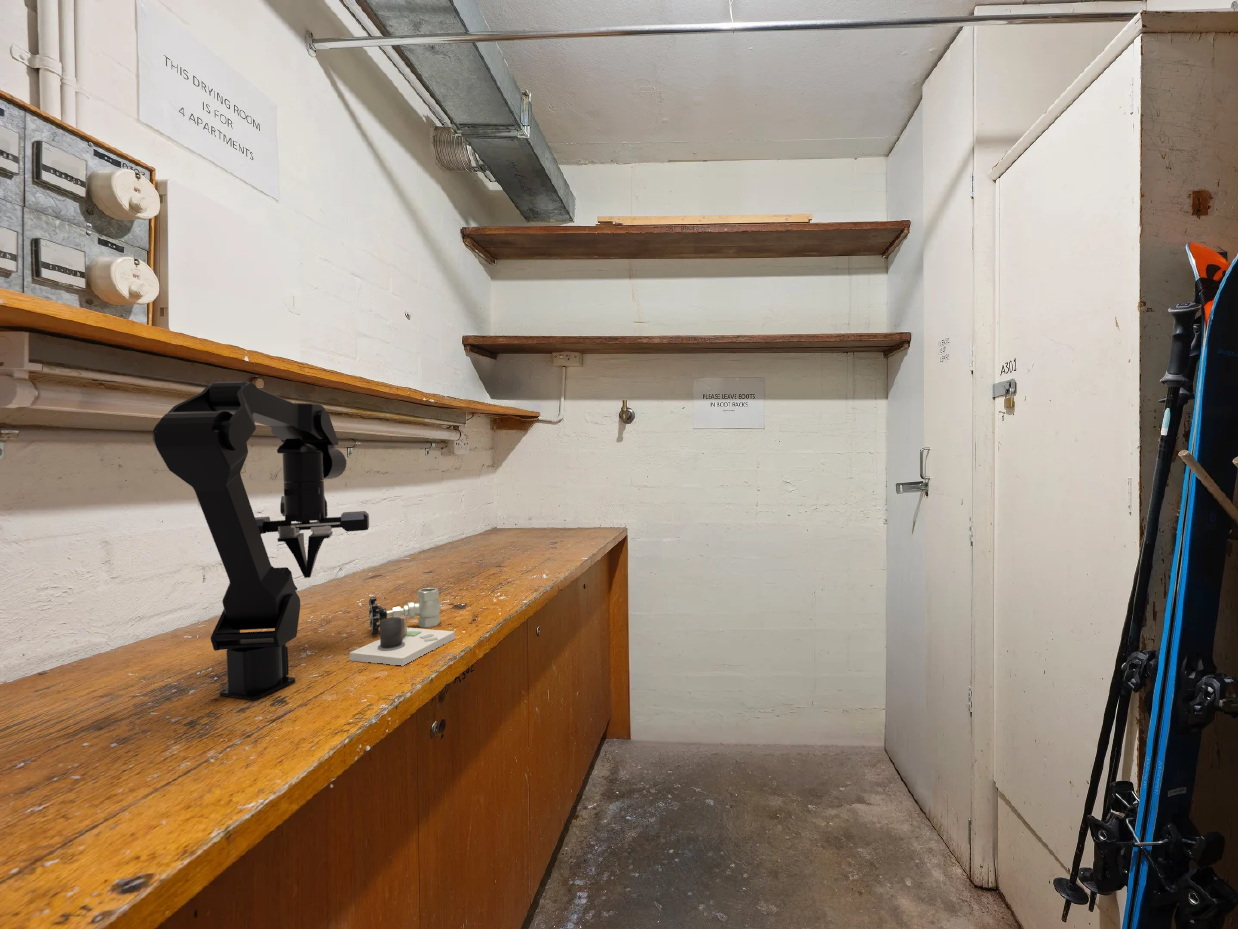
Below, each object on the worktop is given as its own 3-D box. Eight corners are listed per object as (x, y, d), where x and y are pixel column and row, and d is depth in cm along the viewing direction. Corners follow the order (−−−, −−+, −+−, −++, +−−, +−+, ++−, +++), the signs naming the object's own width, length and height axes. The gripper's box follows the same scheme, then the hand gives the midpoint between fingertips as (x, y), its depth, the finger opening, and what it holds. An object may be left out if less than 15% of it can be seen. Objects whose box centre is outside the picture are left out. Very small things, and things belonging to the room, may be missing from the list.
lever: (399, 646, 88) (398, 622, 88) (377, 648, 88) (376, 623, 88) (410, 632, 95) (409, 609, 95) (391, 633, 95) (390, 610, 95)
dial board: (403, 666, 84) (402, 657, 84) (349, 660, 87) (349, 651, 87) (455, 638, 96) (454, 630, 96) (406, 634, 100) (406, 626, 99)
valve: (437, 619, 109) (369, 630, 103) (435, 584, 109) (368, 594, 103) (444, 627, 103) (373, 639, 97) (443, 591, 103) (372, 601, 97)
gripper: (369, 477, 103) (372, 563, 103) (248, 482, 96) (252, 574, 96) (365, 479, 92) (369, 575, 93) (230, 485, 86) (235, 587, 86)
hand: (307, 577), depth 92 cm, fingers closed
